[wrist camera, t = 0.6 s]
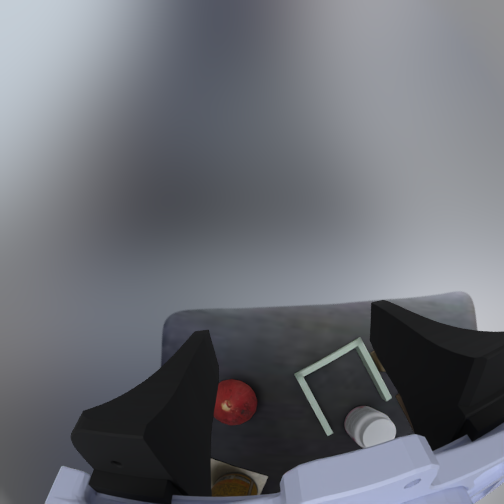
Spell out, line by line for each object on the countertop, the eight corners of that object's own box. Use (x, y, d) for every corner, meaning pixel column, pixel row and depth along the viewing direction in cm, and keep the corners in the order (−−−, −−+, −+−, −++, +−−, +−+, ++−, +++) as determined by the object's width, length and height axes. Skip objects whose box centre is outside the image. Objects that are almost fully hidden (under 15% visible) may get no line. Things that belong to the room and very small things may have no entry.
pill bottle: (339, 435, 32) (353, 452, 24) (349, 403, 34) (366, 412, 26) (371, 439, 31) (391, 455, 23) (380, 407, 33) (404, 417, 25)
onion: (267, 392, 35) (264, 400, 28) (244, 426, 34) (235, 441, 26) (230, 370, 37) (217, 372, 29) (207, 403, 35) (190, 412, 28)
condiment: (251, 512, 28) (240, 556, 17) (195, 493, 30) (166, 530, 19) (268, 475, 31) (262, 515, 20) (209, 456, 32) (182, 488, 21)
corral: (386, 396, 33) (391, 397, 31) (325, 432, 32) (327, 436, 31) (356, 338, 37) (360, 337, 35) (293, 373, 36) (294, 374, 34)
